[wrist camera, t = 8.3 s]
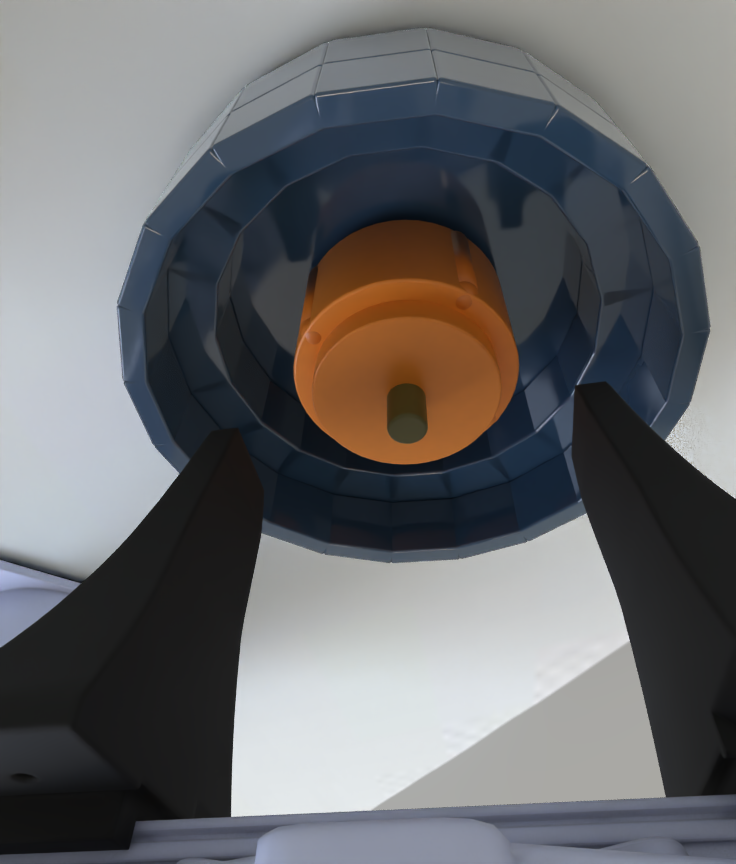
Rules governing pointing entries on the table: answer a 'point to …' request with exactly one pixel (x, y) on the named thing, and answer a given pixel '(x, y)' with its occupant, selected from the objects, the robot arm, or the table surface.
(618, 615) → the table surface
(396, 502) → the bowl
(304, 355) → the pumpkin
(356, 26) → the table surface
